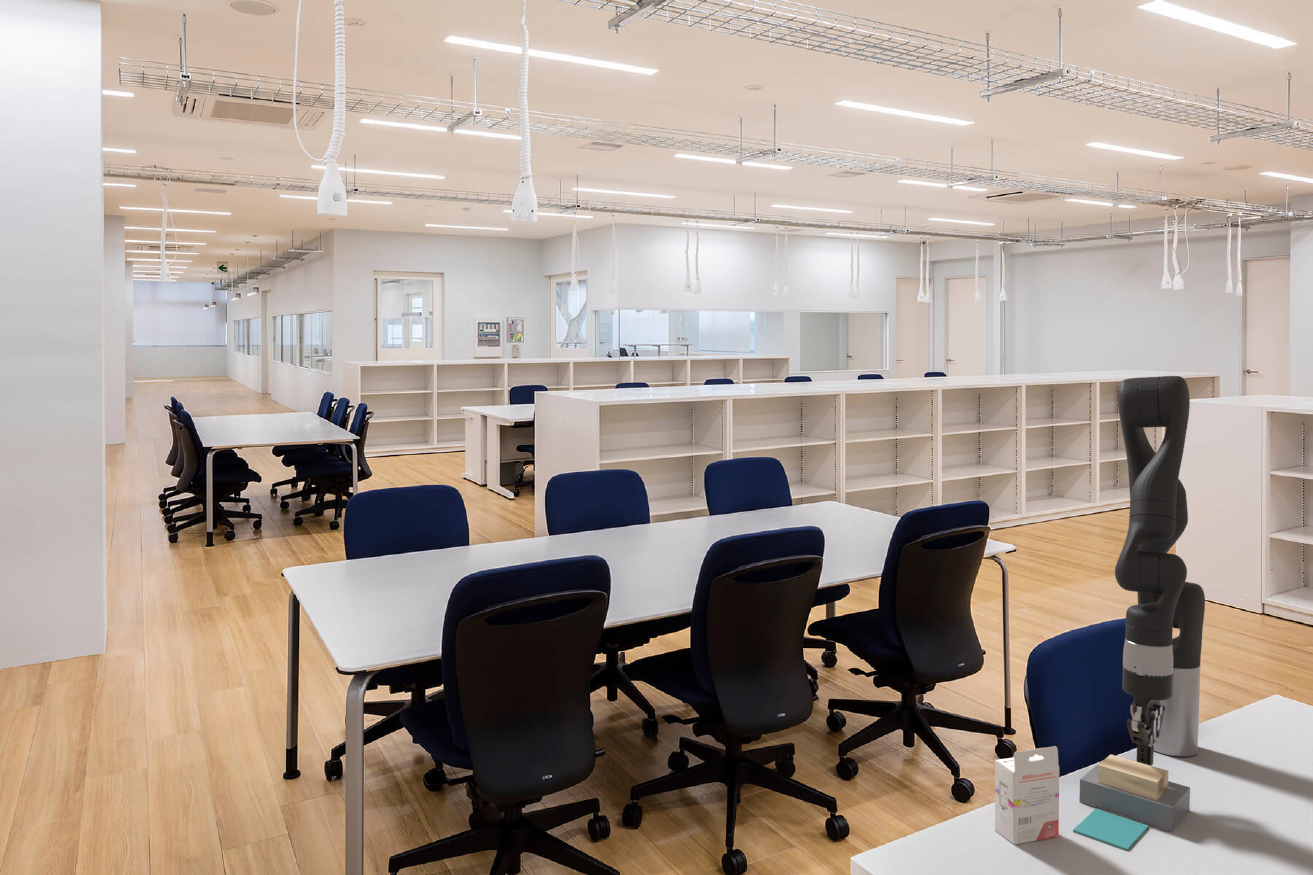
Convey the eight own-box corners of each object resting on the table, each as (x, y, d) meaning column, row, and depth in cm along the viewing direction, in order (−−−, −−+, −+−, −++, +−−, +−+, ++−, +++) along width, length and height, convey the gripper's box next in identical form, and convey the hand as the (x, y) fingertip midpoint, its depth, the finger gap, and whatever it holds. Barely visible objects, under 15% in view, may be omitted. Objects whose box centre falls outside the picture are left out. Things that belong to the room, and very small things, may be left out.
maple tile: (1110, 771, 150) (1110, 754, 150) (1167, 788, 143) (1168, 770, 143) (1097, 781, 146) (1098, 764, 145) (1156, 800, 139) (1157, 782, 139)
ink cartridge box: (1037, 822, 140) (1039, 734, 139) (1059, 837, 135) (1061, 746, 135) (992, 829, 138) (994, 740, 137) (1013, 845, 133) (1015, 753, 132)
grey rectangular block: (1100, 783, 154) (1101, 761, 154) (1189, 810, 144) (1190, 787, 144) (1079, 801, 147) (1079, 779, 147) (1171, 831, 137) (1171, 807, 137)
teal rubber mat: (1095, 809, 144) (1095, 808, 144) (1148, 827, 138) (1148, 825, 138) (1072, 831, 137) (1072, 829, 137) (1127, 850, 131) (1127, 848, 131)
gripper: (1136, 653, 155) (1133, 747, 156) (1110, 670, 146) (1107, 769, 147) (1183, 663, 149) (1180, 760, 150) (1159, 681, 140) (1156, 784, 141)
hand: (1144, 764), depth 149 cm, fingers closed
